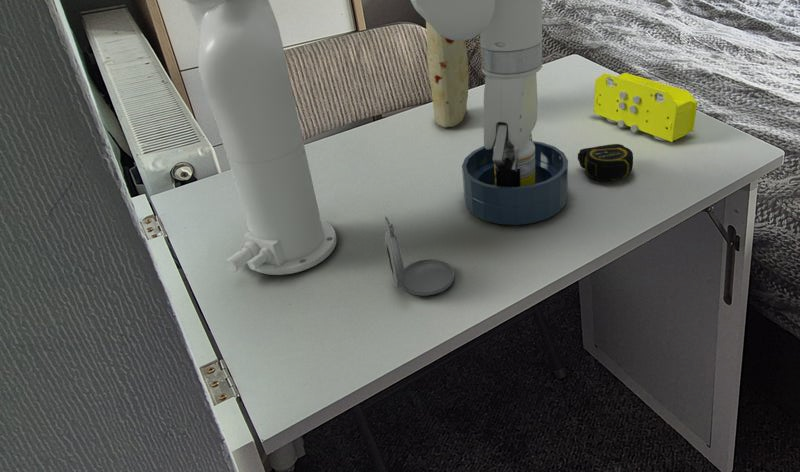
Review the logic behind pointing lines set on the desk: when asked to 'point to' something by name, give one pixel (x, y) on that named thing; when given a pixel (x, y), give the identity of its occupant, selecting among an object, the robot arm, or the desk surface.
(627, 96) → the yellow toy chassis
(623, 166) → the tape measure
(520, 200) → the blue faceted bowl
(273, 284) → the desk surface
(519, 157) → the supplement bottle
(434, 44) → the food model
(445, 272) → the pocket watch
